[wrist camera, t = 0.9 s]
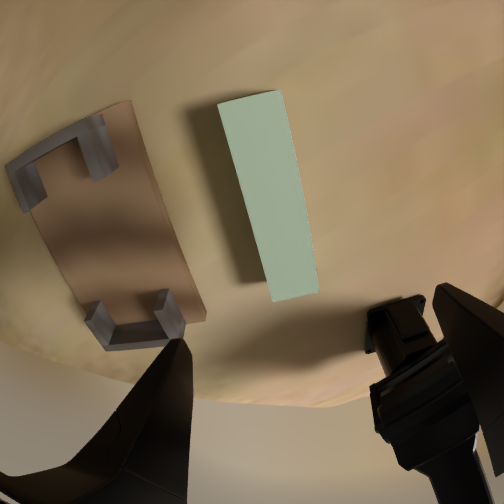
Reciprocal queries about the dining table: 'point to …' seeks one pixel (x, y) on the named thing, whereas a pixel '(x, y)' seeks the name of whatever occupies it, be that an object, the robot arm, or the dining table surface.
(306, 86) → the dining table surface
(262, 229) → the slat
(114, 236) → the frame
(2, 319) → the dining table surface
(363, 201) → the dining table surface
